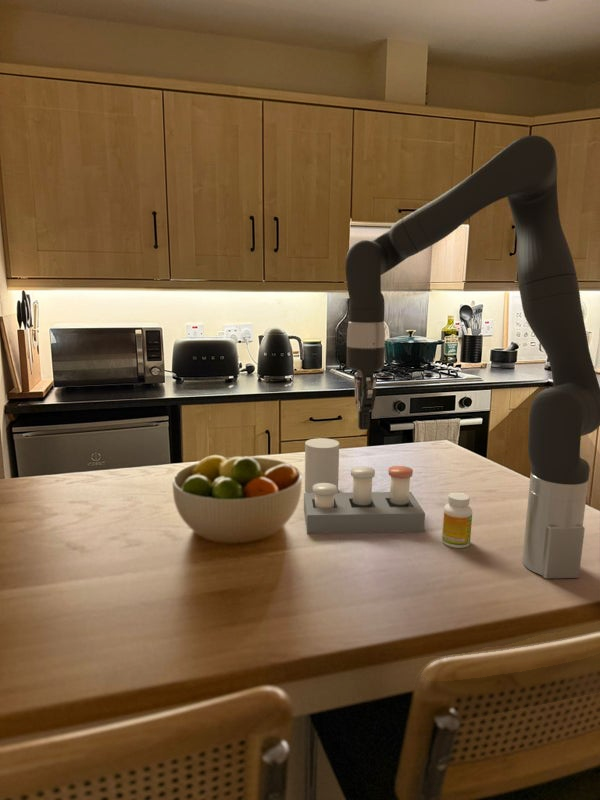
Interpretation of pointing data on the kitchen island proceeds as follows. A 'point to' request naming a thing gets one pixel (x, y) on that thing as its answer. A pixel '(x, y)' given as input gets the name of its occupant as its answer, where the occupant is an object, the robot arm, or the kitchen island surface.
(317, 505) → the far plunger
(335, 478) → the white cylinder
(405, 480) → the red plunger
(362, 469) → the mid plunger
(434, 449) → the kitchen island surface
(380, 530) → the panel
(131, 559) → the kitchen island surface
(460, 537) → the supplement bottle
